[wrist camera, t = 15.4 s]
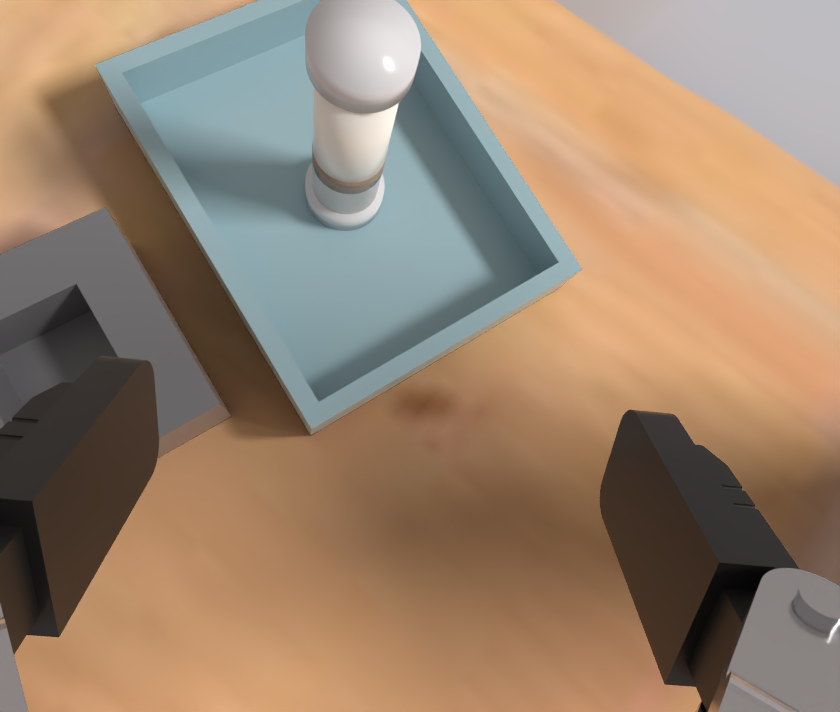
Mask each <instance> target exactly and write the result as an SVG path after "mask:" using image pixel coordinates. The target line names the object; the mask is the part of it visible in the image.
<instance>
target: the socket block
mask: <svg viewBox="0 0 840 712" xmlns="http://www.w3.org/2000/svg"><path fill="white" fill-rule="evenodd" d="M100 356H109V357H119V358H129V359H139V360H147V361H149V362H150V363H151V365H152V367H153V371H154V379H155V392H156V405H157V417H158V430H159V451H158V457H157V458H159V457H161V456H163V455H164V454H166V453H168V452H170V451H171V450H173V449H175V448H177V447H178V446H180V445H182V444H184V443H186V442H187V441H189V440H191V439H193V438H194V437H196V436H198V435H200V434H201V433H203V432H205V431H207V430H209V429H210V428H212V427H214V426H216V425H217V424H219V423H221V422H223V421H224V420H226V419H228V418H230V417H231V415H230V413H229V411H228V410H227V408H226V406H225V405H224V403H223V401H222V399H221V398H220V396H219V394H218V393H217V391H216V389H215V387H214V386H213V384H212V382H211V381H210V379H209V377H208V375H207V374H206V372H205V370H204V369H203V367H202V365H201V363H200V362H199V360H198V358H197V357H196V355H195V353H194V351H193V350H192V348H191V346H190V345H189V343H188V341H187V339H186V338H185V336H184V334H183V332H182V331H181V329H180V327H179V326H178V324H177V322H176V320H175V319H174V317H173V315H172V314H171V312H170V310H169V308H168V307H167V305H166V303H165V302H164V300H163V298H162V296H161V295H160V293H159V291H158V290H157V288H156V286H155V284H154V283H153V281H152V279H151V278H150V276H149V274H148V272H147V271H146V269H145V267H144V266H143V264H142V262H141V260H140V259H139V257H138V255H137V254H136V252H135V250H134V248H133V247H132V245H131V244H130V242H129V241H128V239H127V238H126V236H125V235H124V233H123V232H122V231H121V229H120V228H119V226H118V225H117V223H116V222H115V220H114V219H113V218H112V216H111V215H110V213H109V212H108V210H107V209H106V207H104V208H102V209H100V210H98V211H96V212H93V213H91V214H89V215H87V216H84V217H82V218H80V219H78V220H76V221H73V222H71V223H69V224H67V225H65V226H62V227H60V228H58V229H56V230H53V231H51V232H49V233H47V234H45V235H42V236H40V237H38V238H36V239H34V240H31V241H29V242H27V243H25V244H22V245H20V246H18V247H16V248H14V249H11V250H9V251H7V252H5V253H2V254H0V429H1V428H2V427H3V426H4V425H5V424H6V423H7V422H8V421H12V417H13V416H14V415H15V414H16V413H17V412H18V411H19V410H20V409H21V408H22V407H23V406H24V405H25V404H26V403H27V402H28V401H29V400H30V399H31V398H32V397H34V396H36V395H38V394H40V393H42V392H44V391H46V390H48V389H50V388H52V387H54V386H56V385H57V384H59V383H61V382H67V383H74V382H75V381H76V380H77V379H78V378H79V377H80V376H81V374H82V373H83V372H84V371H85V370H86V369H87V368H88V367H89V366H90V365H91V364H92V363H93V362H94V361H95V359H97V358H98V357H100Z"/></svg>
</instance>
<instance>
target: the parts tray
mask: <svg viewBox="0 0 840 712" xmlns="http://www.w3.org/2000/svg"><path fill="white" fill-rule="evenodd" d="M320 1H321V0H259V1H256V2H253V3H251V4H248V5H246V6H243V7H241V8H238V9H236V10H233V11H231V12H228V13H225V14H223V15H220V16H218V17H215V18H213V19H210V20H208V21H205V22H202V23H200V24H197V25H195V26H192V27H190V28H187V29H185V30H182V31H180V32H177V33H174V34H172V35H169V36H167V37H164V38H162V39H159V40H157V41H154V42H151V43H149V44H146V45H144V46H141V47H139V48H136V49H134V50H131V51H128V52H126V53H123V54H121V55H118V56H116V57H113V58H111V59H108V60H106V61H103V62H100V63H98V64H95V66H96V68H97V70H98V72H99V74H100V76H101V78H102V80H103V82H104V84H105V87H106V89H107V91H108V93H109V95H110V97H111V99H112V101H113V103H114V105H115V107H116V108H117V110H118V112H119V114H120V115H121V117H122V119H123V120H124V122H125V124H126V125H127V127H128V129H129V130H130V132H131V134H132V135H133V137H134V139H135V140H136V142H137V144H138V146H139V147H140V149H141V151H142V152H143V154H144V156H145V157H146V159H147V161H148V162H149V164H150V166H151V167H152V169H153V171H154V172H155V174H156V176H157V178H158V179H159V181H160V183H161V184H162V186H163V188H164V189H165V191H166V193H167V194H168V196H169V198H170V199H171V201H172V203H173V205H174V206H175V208H176V210H177V211H178V213H179V215H180V216H181V218H182V220H183V221H184V223H185V225H186V226H187V228H188V230H189V231H190V233H191V235H192V237H193V238H194V240H195V242H196V243H197V245H198V247H199V248H200V250H201V252H202V253H203V255H204V257H205V258H206V260H207V262H208V263H209V265H210V267H211V269H212V270H213V272H214V274H215V275H216V277H217V279H218V280H219V282H220V284H221V285H222V287H223V289H224V290H225V292H226V294H227V295H228V297H229V299H230V301H231V302H232V304H233V306H234V307H235V309H236V311H237V312H238V314H239V316H240V317H241V319H242V321H243V322H244V324H245V326H246V328H247V329H248V331H249V333H250V334H251V336H252V338H253V339H254V341H255V343H256V344H257V346H258V348H259V349H260V351H261V353H262V354H263V356H264V358H265V360H266V361H267V363H268V365H269V366H270V368H271V370H272V371H273V373H274V375H275V376H276V378H277V380H278V381H279V383H280V385H281V386H282V388H283V390H284V392H285V393H286V395H287V397H288V398H289V400H290V402H291V403H292V405H293V407H294V408H295V410H296V412H297V413H298V415H299V417H300V418H301V420H302V422H303V424H304V425H305V427H306V429H307V430H308V432H309V434H310V435H313V434H315V433H316V432H318V431H320V430H321V429H323V428H325V427H326V426H328V425H330V424H332V423H333V422H335V421H337V420H338V419H340V418H342V417H343V416H345V415H347V414H348V413H350V412H352V411H353V410H355V409H357V408H358V407H360V406H362V405H364V404H365V403H367V402H369V401H370V400H372V399H374V398H375V397H377V396H379V395H380V394H382V393H384V392H385V391H387V390H389V389H390V388H392V387H394V386H396V385H397V384H399V383H401V382H402V381H404V380H406V379H407V378H409V377H411V376H412V375H414V374H416V373H417V372H419V371H421V370H422V369H424V368H426V367H427V366H429V365H431V364H433V363H434V362H436V361H438V360H439V359H441V358H443V357H444V356H446V355H448V354H449V353H451V352H453V351H454V350H456V349H458V348H459V347H461V346H463V345H465V344H466V343H468V342H470V341H471V340H473V339H475V338H476V337H478V336H480V335H481V334H483V333H485V332H486V331H488V330H490V329H491V328H493V327H495V326H497V325H498V324H500V323H502V322H503V321H505V320H507V319H508V318H510V317H512V316H513V315H515V314H517V313H518V312H520V311H522V310H523V309H525V308H527V307H529V306H530V305H532V304H534V303H535V302H537V301H539V300H540V299H542V298H544V297H545V296H547V295H549V294H550V293H552V292H554V291H555V290H557V289H558V288H560V287H561V286H562V285H563V284H565V283H566V282H567V281H568V280H570V279H571V278H572V277H573V276H574V275H576V274H577V273H578V272H579V271H581V270H582V268H581V266H580V265H579V263H578V262H577V260H576V259H575V257H574V256H573V254H572V253H571V251H570V249H569V248H568V246H567V245H566V243H565V242H564V240H563V239H562V237H561V236H560V234H559V233H558V231H557V230H556V228H555V227H554V225H553V223H552V222H551V220H550V219H549V217H548V216H547V214H546V213H545V211H544V210H543V208H542V207H541V205H540V204H539V202H538V201H537V199H536V197H535V196H534V194H533V193H532V191H531V190H530V188H529V187H528V185H527V184H526V182H525V181H524V179H523V178H522V176H521V175H520V173H519V171H518V170H517V168H516V167H515V165H514V164H513V162H512V161H511V159H510V158H509V156H508V155H507V153H506V152H505V150H504V149H503V147H502V145H501V144H500V142H499V141H498V139H497V138H496V136H495V135H494V133H493V132H492V130H491V129H490V127H489V126H488V124H487V123H486V121H485V119H484V118H483V116H482V115H481V113H480V112H479V110H478V109H477V107H476V106H475V104H474V103H473V101H472V100H471V98H470V97H469V95H468V93H467V92H466V90H465V89H464V87H463V86H462V84H461V83H460V81H459V80H458V78H457V77H456V75H455V74H454V72H453V71H452V69H451V67H450V66H449V64H448V63H447V61H446V60H445V58H444V57H443V55H442V54H441V52H440V51H439V49H438V48H437V46H436V45H435V43H434V41H433V40H432V38H431V37H430V35H429V34H428V32H427V31H426V29H425V28H424V26H423V25H422V23H421V22H420V20H419V19H418V17H417V15H416V14H415V12H414V11H413V9H412V8H411V6H410V5H409V3H408V2H407V0H395V1H396V2H398V3H399V4H400V5H401V6H402V7H403V8H404V9H405V10H406V11H407V12H408V13H409V14H410V16H411V17H412V18H413V20H414V22H415V24H416V26H417V28H418V31H419V34H420V39H421V52H420V58H419V61H418V65H417V69H416V73H415V77H414V81H413V83H412V86H411V88H410V90H409V92H408V93H407V95H406V96H405V97H404V98H403V99H402V100H401V101H400V102H399V104H398V108H397V112H396V117H395V121H394V125H393V129H392V133H391V138H390V142H389V146H388V150H387V156H386V161H385V165H384V169H383V172H382V174H383V178H384V183H385V189H384V195H383V199H382V203H381V206H380V209H379V212H378V213H377V215H376V216H375V218H374V219H373V220H372V221H371V222H370V223H369V224H367V225H366V226H364V227H362V228H359V229H356V230H351V231H340V230H335V229H332V228H329V227H327V226H325V225H324V224H322V223H320V222H319V221H318V220H317V219H316V218H315V217H314V216H313V214H312V213H311V212H310V210H309V208H308V205H307V202H306V196H305V179H306V173H307V170H308V168H309V166H310V164H311V163H312V144H313V110H314V86H313V85H312V83H311V81H310V79H309V76H308V74H307V70H306V65H305V29H306V24H307V20H308V18H309V15H310V14H311V12H312V10H313V9H314V8H315V6H316V5H317V4H318V3H319V2H320Z"/></svg>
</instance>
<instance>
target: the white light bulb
mask: <svg viewBox="0 0 840 712" xmlns="http://www.w3.org/2000/svg"><path fill="white" fill-rule="evenodd" d="M420 52H421V39H420V34H419V31H418V28H417V26H416V24H415V22H414V20H413V18H412V17H411V16H410V14H409V13H408V12H407V11H406V10H405V9H404V8H403V7H402V6H401V5H400V4H399V3H398V2H396V1H395V0H321V1H320V2H319V3H318V4H317V5H316V6H315V8H314V9H313V10H312V12H311V14H310V15H309V18H308V20H307V24H306V29H305V65H306V70H307V74H308V76H309V79H310V81H311V83H312V85H313V86H314V110H313V144H312V163H311V164H310V166H309V168H308V170H307V173H306V179H305V196H306V202H307V205H308V208H309V210H310V212H311V213H312V214H313V216H314V217H315V218H316V219H317V220H318V221H319V222H320V223H322V224H324V225H325V226H327V227H329V228H332V229H335V230H340V231H351V230H356V229H359V228H362V227H364V226H366V225H367V224H369V223H370V222H371V221H372V220H373V219H374V218H375V216H376V215H377V213H378V212H379V209H380V206H381V203H382V199H383V195H384V189H385V183H384V178H383V174H382V172H383V169H384V165H385V161H386V156H387V150H388V146H389V142H390V138H391V133H392V129H393V125H394V121H395V117H396V112H397V108H398V104H399V102H400V101H401V100H402V99H403V98H404V97H405V96H406V95H407V93H408V92H409V90H410V88H411V86H412V83H413V81H414V77H415V73H416V69H417V65H418V61H419V58H420Z"/></svg>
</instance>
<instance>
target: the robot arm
mask: <svg viewBox="0 0 840 712" xmlns="http://www.w3.org/2000/svg"><path fill="white" fill-rule="evenodd" d="M158 451H159V430H158V417H157V405H156V392H155V379H154V371H153V367H152V365H151V363H150V362H149V361H147V360H139V359H129V358H119V357H109V356H100V357H98V358H97V359H95V361H94V362H93V363H92V364H91V365H90V366H89V367H88V368H87V369H86V370H85V371H84V372H83V373H82V374H81V376H80V377H79V378H78V379H77V380H76V381H75V382H74V383H67V382H61V383H59V384H57V385H56V386H54V387H52V388H50V389H48V390H46V391H44V392H42V393H40V394H38V395H36V396H34V397H32V398H31V399H30V400H29V401H28V402H27V403H26V404H25V405H24V406H23V407H22V408H21V409H20V410H19V411H18V412H17V413H16V414H15V415H14V416H13V417H12V421H8V422H7V423H6V424H5V425H4V426H3V427H2V428H1V429H0V712H28V708H27V705H26V701H25V697H24V693H23V689H22V685H21V681H20V677H19V673H18V669H17V665H16V662H15V658H14V654H15V652H16V651H17V649H18V647H19V646H20V644H21V643H22V641H23V639H24V638H25V636H26V635H36V636H50V637H59V636H60V635H61V633H62V631H63V629H64V628H65V626H66V624H67V623H68V621H69V619H70V617H71V616H72V614H73V612H74V610H75V609H76V607H77V605H78V603H79V602H80V600H81V598H82V596H83V595H84V593H85V591H86V589H87V588H88V586H89V584H90V582H91V581H92V579H93V577H94V575H95V574H96V572H97V570H98V569H99V567H100V565H101V563H102V562H103V560H104V558H105V556H106V555H107V553H108V551H109V549H110V548H111V546H112V544H113V542H114V541H115V539H116V537H117V535H118V534H119V532H120V530H121V528H122V527H123V525H124V523H125V521H126V520H127V518H128V516H129V515H130V513H131V511H132V509H133V508H134V506H135V504H136V502H137V501H138V499H139V497H140V495H141V494H142V492H143V490H144V488H145V487H146V485H147V483H148V481H149V480H150V478H151V476H152V474H153V472H154V469H155V466H156V462H157V457H158ZM754 506H755V505H754V503H753V502H752V500H751V499H750V498H749V496H748V495H747V493H746V492H745V491H742V486H741V485H740V483H739V482H738V480H737V479H736V477H735V476H734V475H733V473H732V472H731V470H730V469H729V467H728V466H727V465H726V464H725V463H724V462H722V461H721V460H720V459H719V458H717V457H716V456H715V455H714V454H712V453H711V452H710V451H709V450H707V449H706V448H705V447H704V446H702V445H695V444H694V443H693V441H692V440H691V438H690V437H689V435H688V434H687V432H686V431H685V429H684V427H683V426H682V424H681V423H680V421H679V420H678V418H677V417H676V416H675V415H673V414H668V413H658V412H648V411H638V410H628V411H627V412H626V413H625V414H624V415H623V417H622V419H621V422H620V425H619V428H618V432H617V435H616V438H615V441H614V444H613V448H612V451H611V454H610V457H609V461H608V464H607V467H606V470H605V473H604V477H603V480H602V484H601V490H600V508H601V514H602V518H603V521H604V523H605V526H606V529H607V531H608V534H609V537H610V539H611V542H612V545H613V547H614V550H615V553H616V556H617V558H618V561H619V564H620V566H621V569H622V572H623V574H624V577H625V580H626V582H627V585H628V588H629V590H630V593H631V596H632V598H633V601H634V604H635V606H636V609H637V612H638V614H639V617H640V620H641V622H642V625H643V628H644V630H645V633H646V636H647V638H648V641H649V644H650V646H651V649H652V652H653V654H654V657H655V660H656V662H657V665H658V668H659V670H660V673H661V676H662V678H663V681H664V684H666V685H680V686H693V687H696V688H697V690H698V692H699V695H700V697H701V702H700V704H699V706H698V708H697V710H696V712H840V586H839V585H837V584H836V583H834V582H832V581H830V580H828V579H826V578H824V577H821V576H819V575H817V574H814V573H811V572H808V571H804V570H800V569H799V568H798V566H797V565H796V564H795V562H794V561H793V559H792V558H791V556H790V555H789V553H788V552H787V551H786V549H785V548H784V546H783V545H782V543H781V542H780V541H779V539H778V538H777V536H776V535H775V533H774V532H773V531H772V529H771V528H770V526H769V525H768V523H767V522H766V520H765V519H764V518H763V516H762V515H761V513H760V512H759V510H755V508H754Z"/></svg>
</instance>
